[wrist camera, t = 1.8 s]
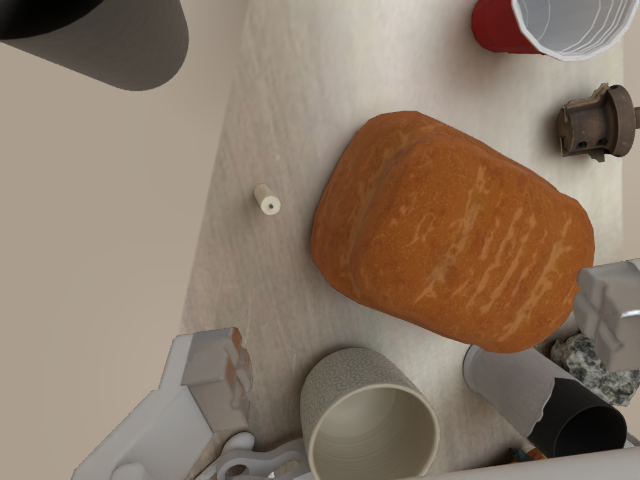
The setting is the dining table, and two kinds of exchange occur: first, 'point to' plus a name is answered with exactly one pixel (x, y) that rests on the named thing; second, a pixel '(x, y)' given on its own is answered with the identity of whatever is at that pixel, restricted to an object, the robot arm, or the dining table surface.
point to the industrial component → (599, 124)
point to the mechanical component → (267, 463)
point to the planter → (365, 420)
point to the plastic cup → (552, 26)
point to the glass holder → (546, 403)
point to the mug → (526, 455)
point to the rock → (594, 370)
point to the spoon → (235, 443)
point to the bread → (450, 235)
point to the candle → (266, 199)
